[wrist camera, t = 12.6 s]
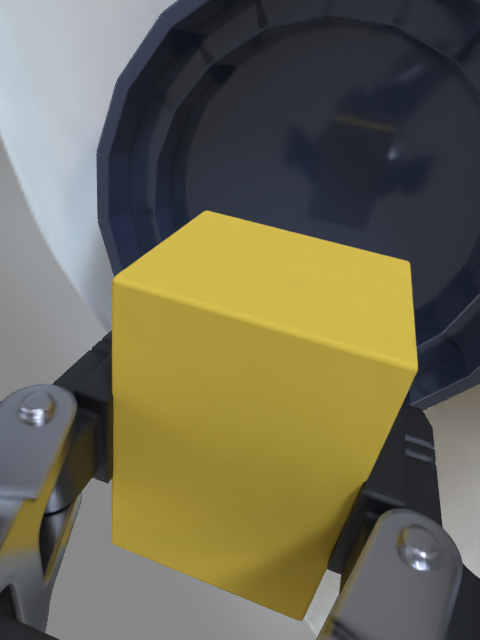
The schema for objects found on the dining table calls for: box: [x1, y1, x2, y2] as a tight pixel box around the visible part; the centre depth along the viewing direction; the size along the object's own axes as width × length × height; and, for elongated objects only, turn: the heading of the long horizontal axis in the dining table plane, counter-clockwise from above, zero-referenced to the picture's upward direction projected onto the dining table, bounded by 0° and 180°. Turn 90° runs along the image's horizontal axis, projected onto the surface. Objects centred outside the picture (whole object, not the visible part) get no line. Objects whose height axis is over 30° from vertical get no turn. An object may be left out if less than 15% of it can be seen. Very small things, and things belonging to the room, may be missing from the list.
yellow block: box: [112, 211, 418, 620], centre depth 10 cm, size 7×5×4 cm, turn 171°
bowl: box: [97, 0, 480, 411], centre depth 20 cm, size 19×19×4 cm
